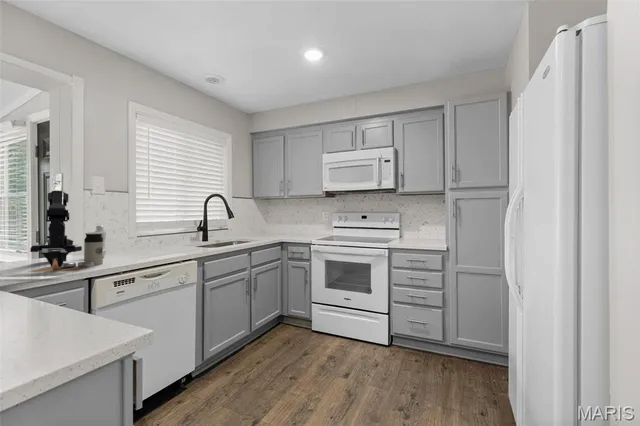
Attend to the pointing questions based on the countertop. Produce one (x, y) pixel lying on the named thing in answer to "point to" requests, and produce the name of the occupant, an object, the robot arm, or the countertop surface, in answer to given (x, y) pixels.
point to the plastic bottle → (100, 229)
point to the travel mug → (93, 248)
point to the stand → (80, 267)
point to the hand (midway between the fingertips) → (56, 266)
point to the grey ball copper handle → (64, 265)
